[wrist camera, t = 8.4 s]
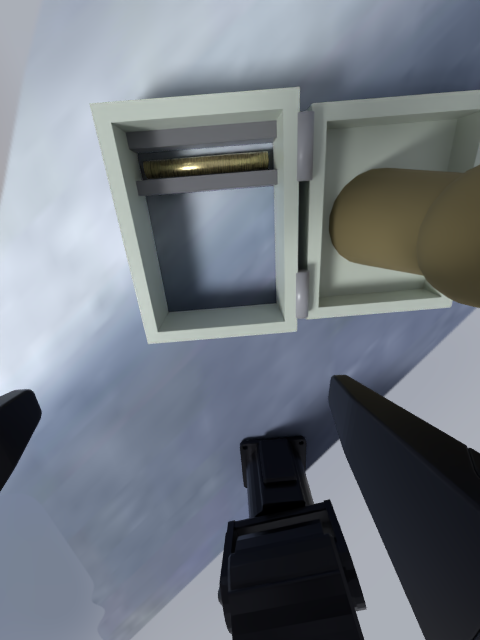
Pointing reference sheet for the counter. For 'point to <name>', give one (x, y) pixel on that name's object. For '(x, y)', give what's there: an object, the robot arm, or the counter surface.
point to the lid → (363, 155)
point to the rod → (206, 165)
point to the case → (205, 132)
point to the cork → (414, 226)
